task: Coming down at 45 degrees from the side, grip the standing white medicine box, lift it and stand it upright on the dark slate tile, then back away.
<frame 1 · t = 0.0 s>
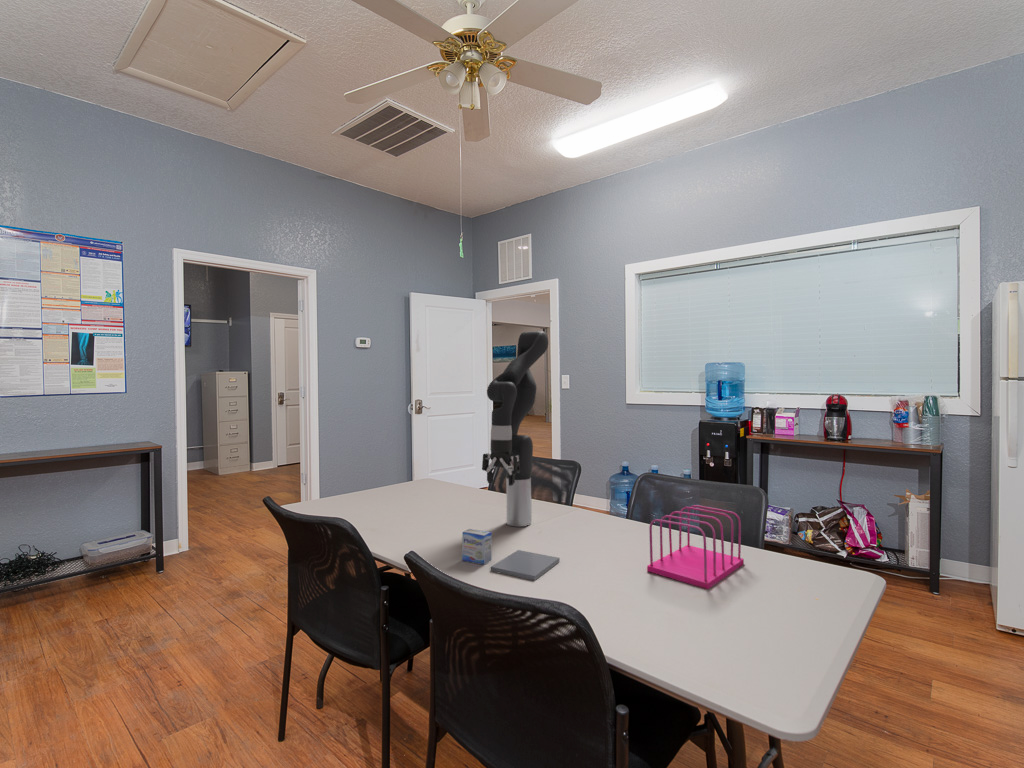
hand: (500, 484, 177), 17 cm above the table, tool pointing down, fingers open, 8 cm apart
medicine box: (476, 561, 150), on the table
slate tile: (525, 566, 145), on the table
file sorter: (696, 568, 144), on the table
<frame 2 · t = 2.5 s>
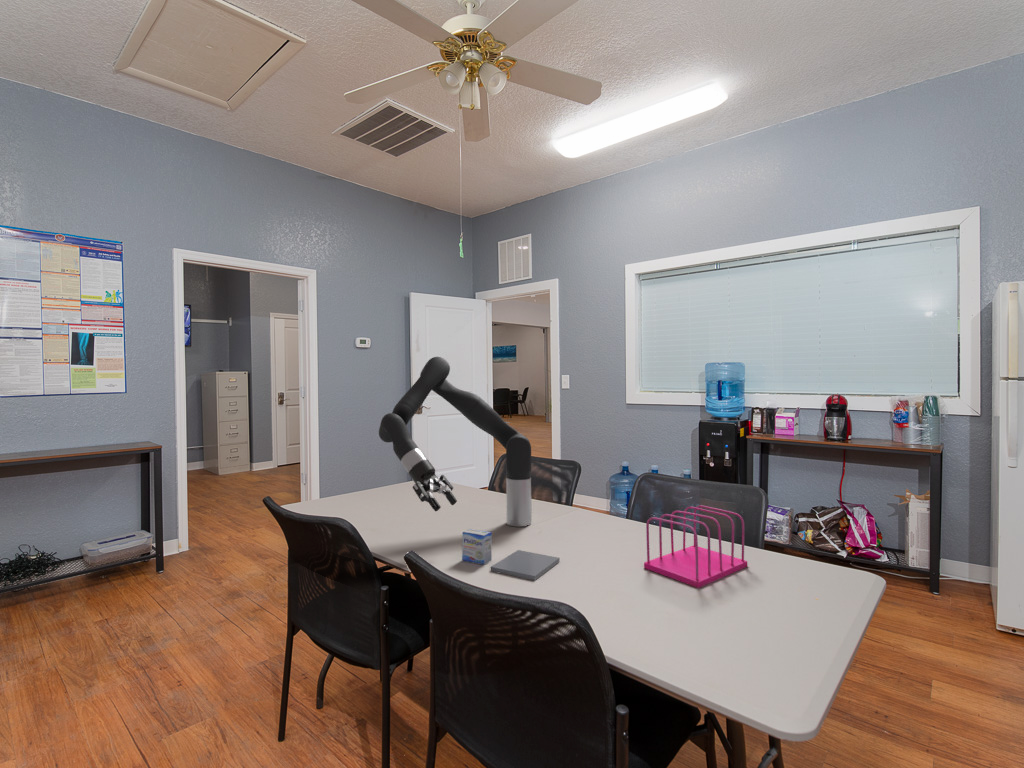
hand: (446, 506, 155), 15 cm above the table, tool tilted 45°, fingers open, 8 cm apart
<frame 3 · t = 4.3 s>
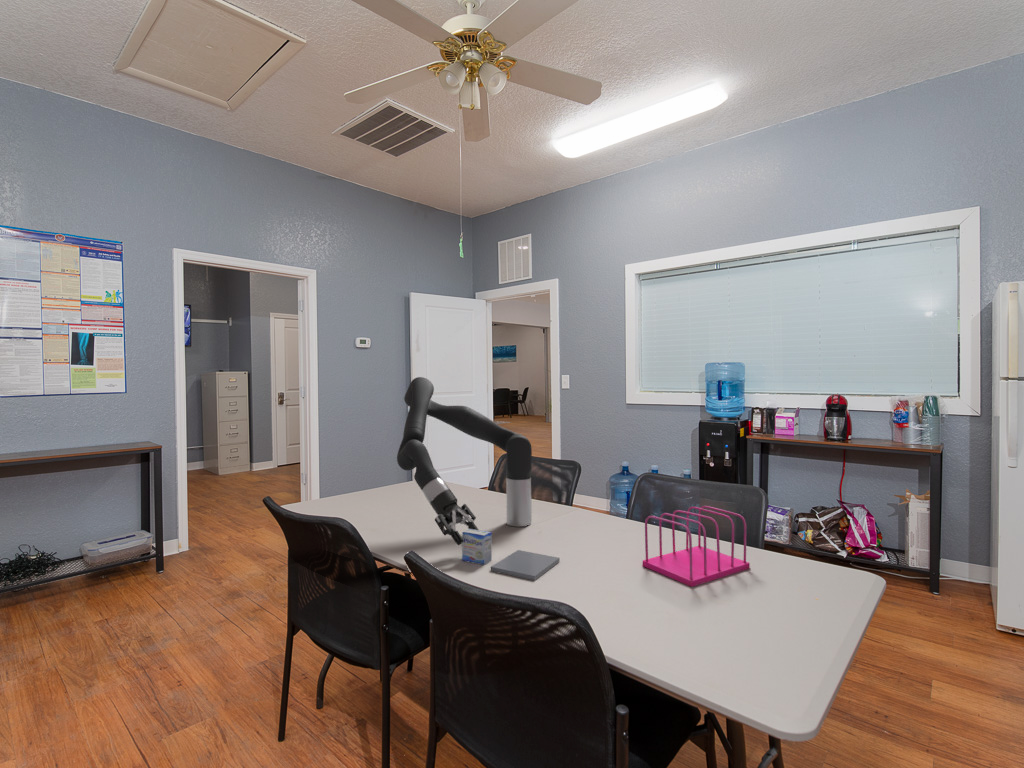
hand: (469, 539, 151), 6 cm above the table, tool tilted 45°, fingers open, 8 cm apart
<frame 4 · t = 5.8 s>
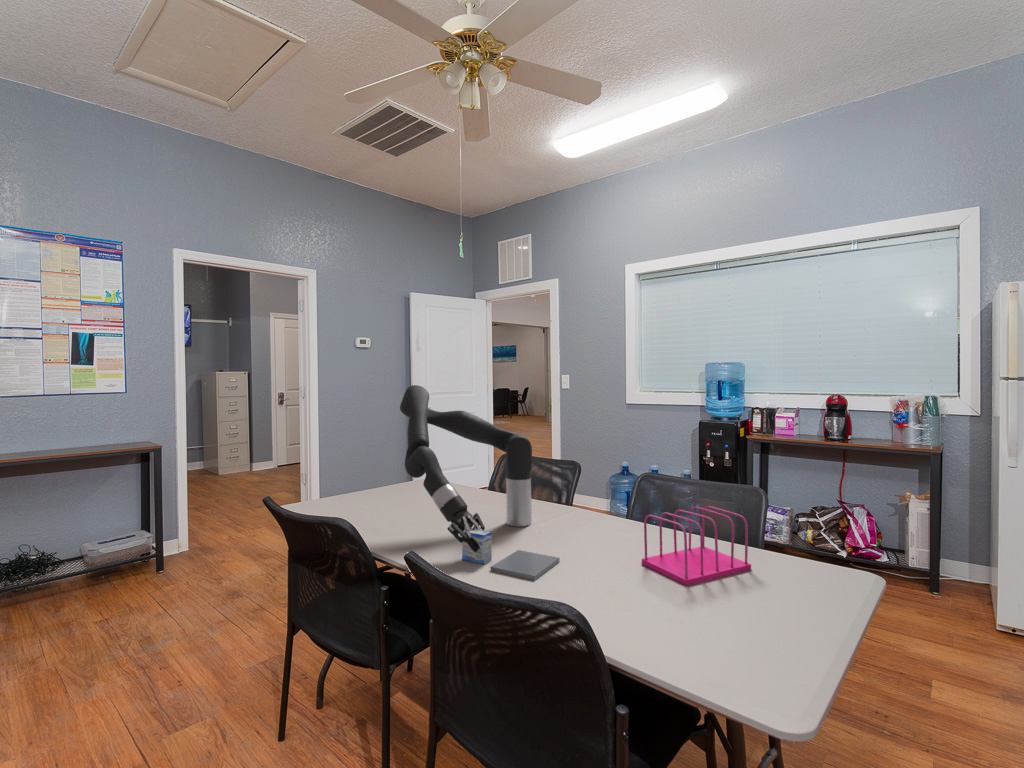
hand: (482, 547, 149), 4 cm above the table, tool tilted 45°, fingers closed on medicine box, 4 cm apart
medicine box: (476, 561, 150), on the table, touching gripper
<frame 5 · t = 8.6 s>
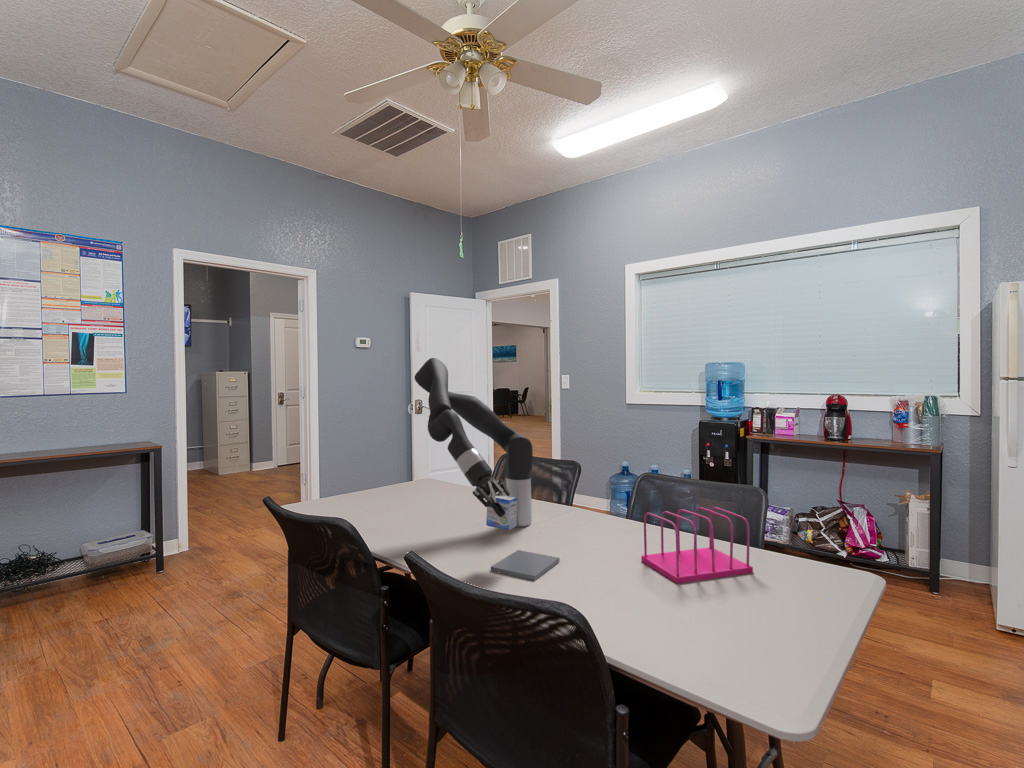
hand: (507, 513, 146), 15 cm above the table, tool tilted 45°, fingers closed on medicine box, 4 cm apart
medicine box: (501, 526, 147), point 11 cm above the table, touching gripper
when the fingers open (7 cm above the table, at t = 11.3 s): medicine box drops 1 cm, resting on slate tile.
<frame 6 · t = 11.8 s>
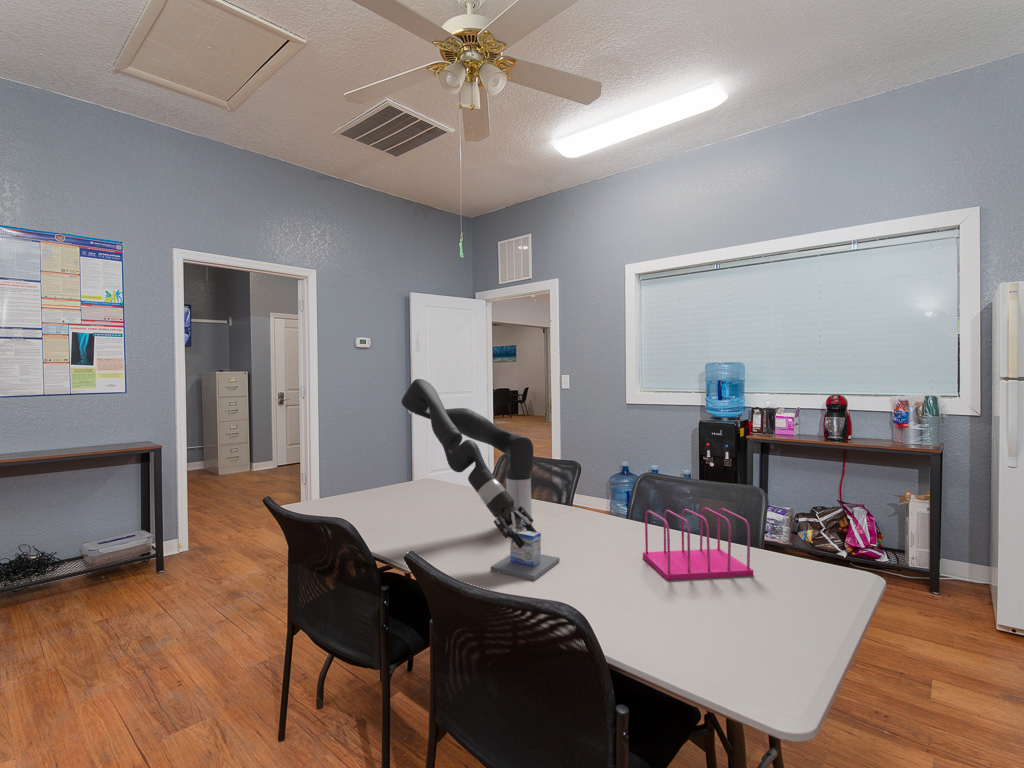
hand: (529, 541, 144), 7 cm above the table, tool tilted 45°, fingers open, 8 cm apart
medicine box: (525, 562, 145), point 1 cm above the table, touching slate tile
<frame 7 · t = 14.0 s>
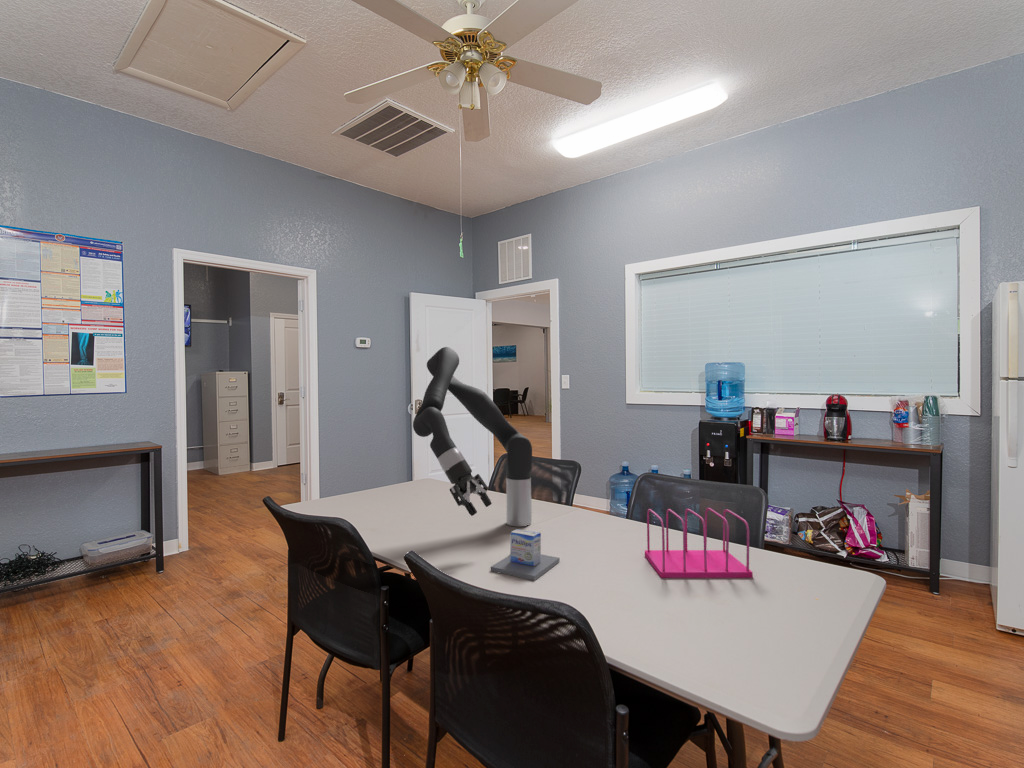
hand: (481, 509, 154), 14 cm above the table, tool tilted 35°, fingers open, 8 cm apart
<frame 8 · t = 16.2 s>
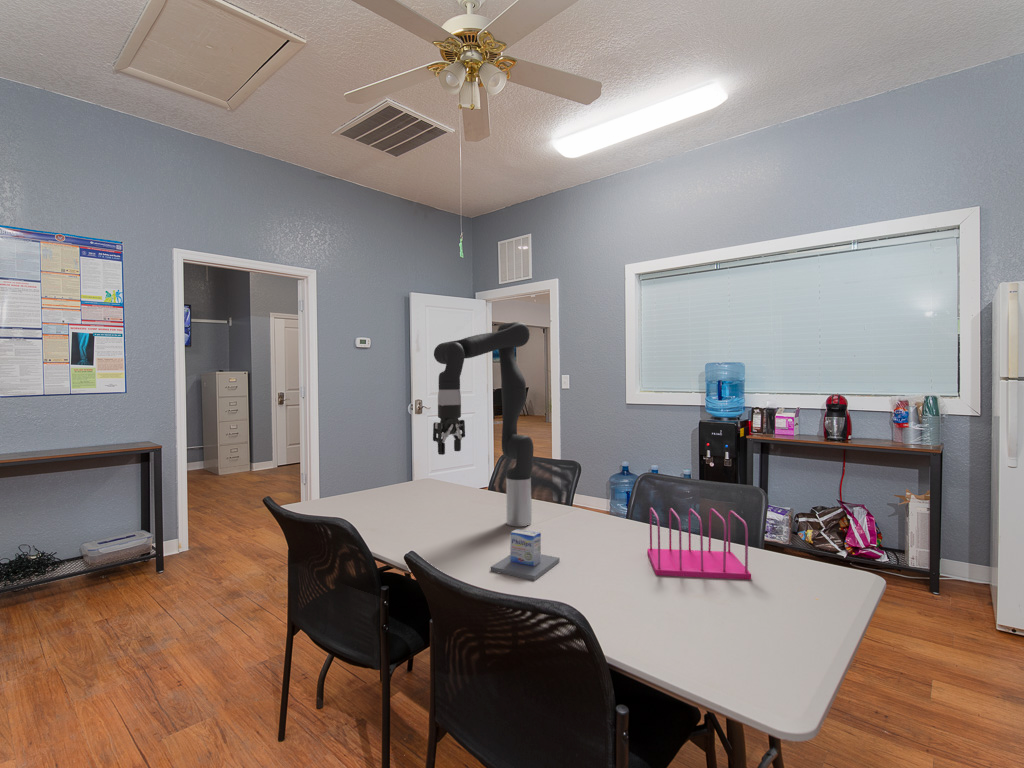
hand: (449, 452, 165), 30 cm above the table, tool pointing down, fingers open, 8 cm apart
at the end: medicine box inside the target area on the slate tile (0.1 cm from its centre), point 1.0 cm above the slate tile's base; medicine box tilted 0°; the gripper is holding nothing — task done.
